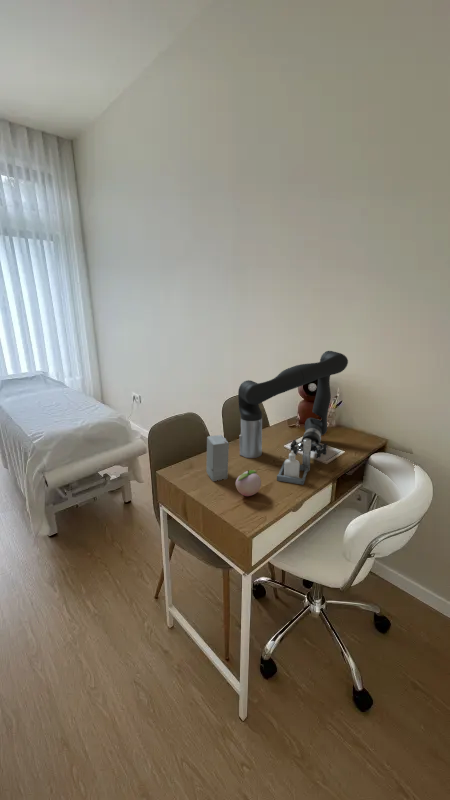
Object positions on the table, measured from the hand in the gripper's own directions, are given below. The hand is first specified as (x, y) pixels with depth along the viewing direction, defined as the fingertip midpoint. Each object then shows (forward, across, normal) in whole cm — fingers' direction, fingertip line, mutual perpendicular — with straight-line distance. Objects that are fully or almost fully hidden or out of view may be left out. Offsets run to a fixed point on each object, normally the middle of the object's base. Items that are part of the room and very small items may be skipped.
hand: (306, 454), depth 135 cm
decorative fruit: (+24, -16, +8) cm, 30 cm away
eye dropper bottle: (+8, -4, +8) cm, 12 cm away
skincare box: (+14, -32, +8) cm, 36 cm away
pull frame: (+5, -4, +7) cm, 10 cm away
